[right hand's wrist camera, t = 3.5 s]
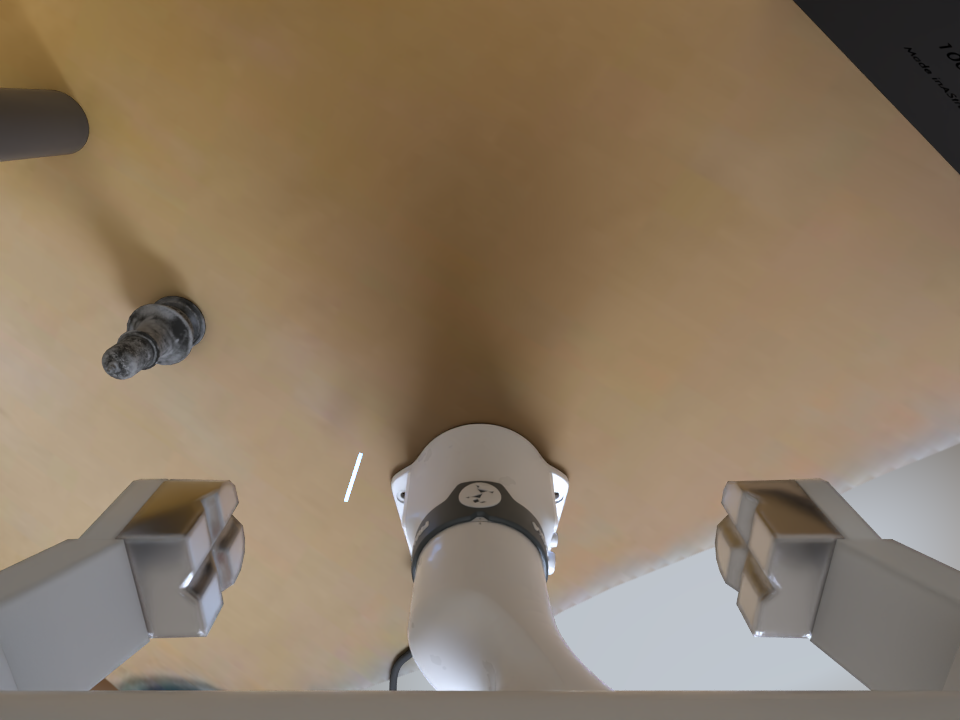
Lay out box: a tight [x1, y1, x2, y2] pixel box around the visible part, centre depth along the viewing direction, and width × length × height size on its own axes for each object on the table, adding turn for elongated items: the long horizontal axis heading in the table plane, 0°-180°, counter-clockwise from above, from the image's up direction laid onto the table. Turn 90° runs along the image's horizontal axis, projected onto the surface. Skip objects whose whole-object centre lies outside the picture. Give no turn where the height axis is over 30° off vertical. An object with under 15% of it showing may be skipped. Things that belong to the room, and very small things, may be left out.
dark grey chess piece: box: [102, 296, 205, 379], centre depth 54 cm, size 6×6×12 cm
